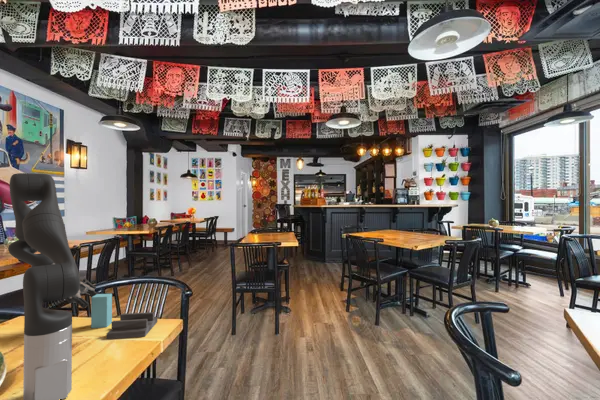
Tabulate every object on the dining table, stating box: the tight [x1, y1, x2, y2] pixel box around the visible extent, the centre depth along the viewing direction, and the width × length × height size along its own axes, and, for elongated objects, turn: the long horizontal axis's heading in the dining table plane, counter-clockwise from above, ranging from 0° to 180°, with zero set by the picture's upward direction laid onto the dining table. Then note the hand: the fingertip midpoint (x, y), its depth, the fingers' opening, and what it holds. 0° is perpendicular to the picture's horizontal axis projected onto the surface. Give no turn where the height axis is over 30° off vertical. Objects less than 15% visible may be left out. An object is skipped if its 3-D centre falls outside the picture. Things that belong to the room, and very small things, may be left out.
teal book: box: [90, 293, 113, 329], centre depth 114 cm, size 4×6×12 cm
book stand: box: [106, 311, 158, 340], centre depth 110 cm, size 13×13×5 cm
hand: (92, 302), depth 114 cm, fingers open, 8 cm apart
